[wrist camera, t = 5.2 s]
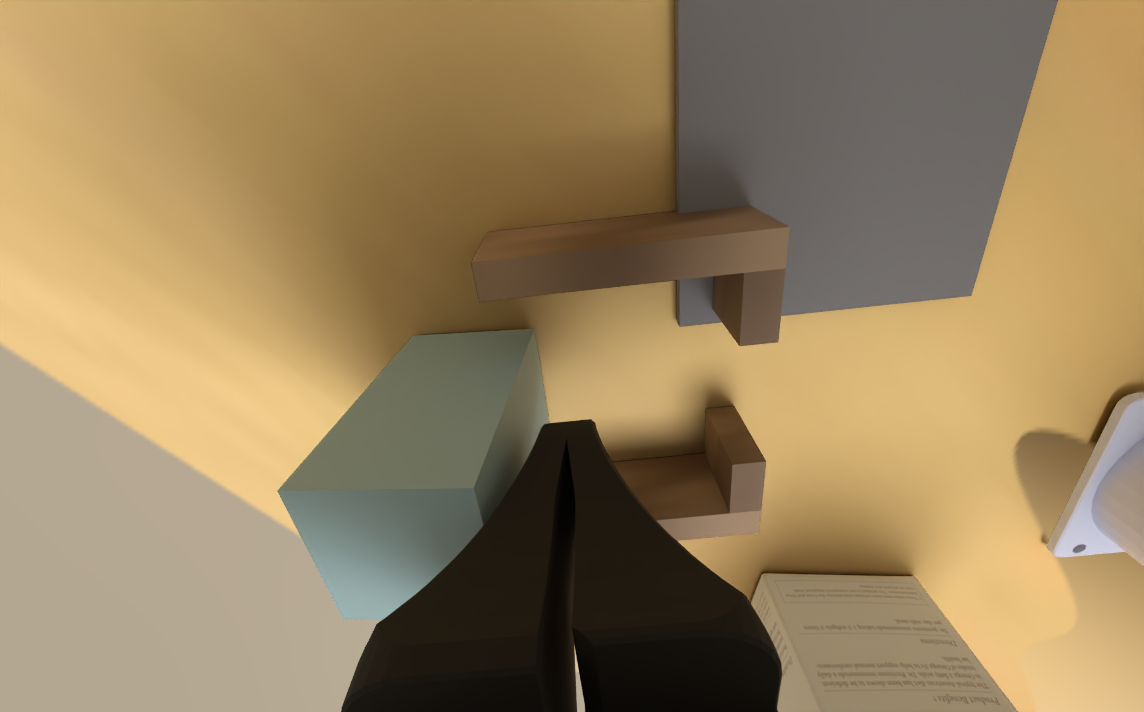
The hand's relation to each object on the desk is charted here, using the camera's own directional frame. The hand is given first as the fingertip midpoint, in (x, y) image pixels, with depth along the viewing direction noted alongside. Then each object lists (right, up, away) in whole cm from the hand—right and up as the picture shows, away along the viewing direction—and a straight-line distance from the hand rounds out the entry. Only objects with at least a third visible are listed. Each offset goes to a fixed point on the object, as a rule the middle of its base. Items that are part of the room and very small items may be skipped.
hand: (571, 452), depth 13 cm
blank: (-3, +2, +3) cm, 5 cm away
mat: (+7, +8, +1) cm, 11 cm away
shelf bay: (+2, +2, +4) cm, 4 cm away
